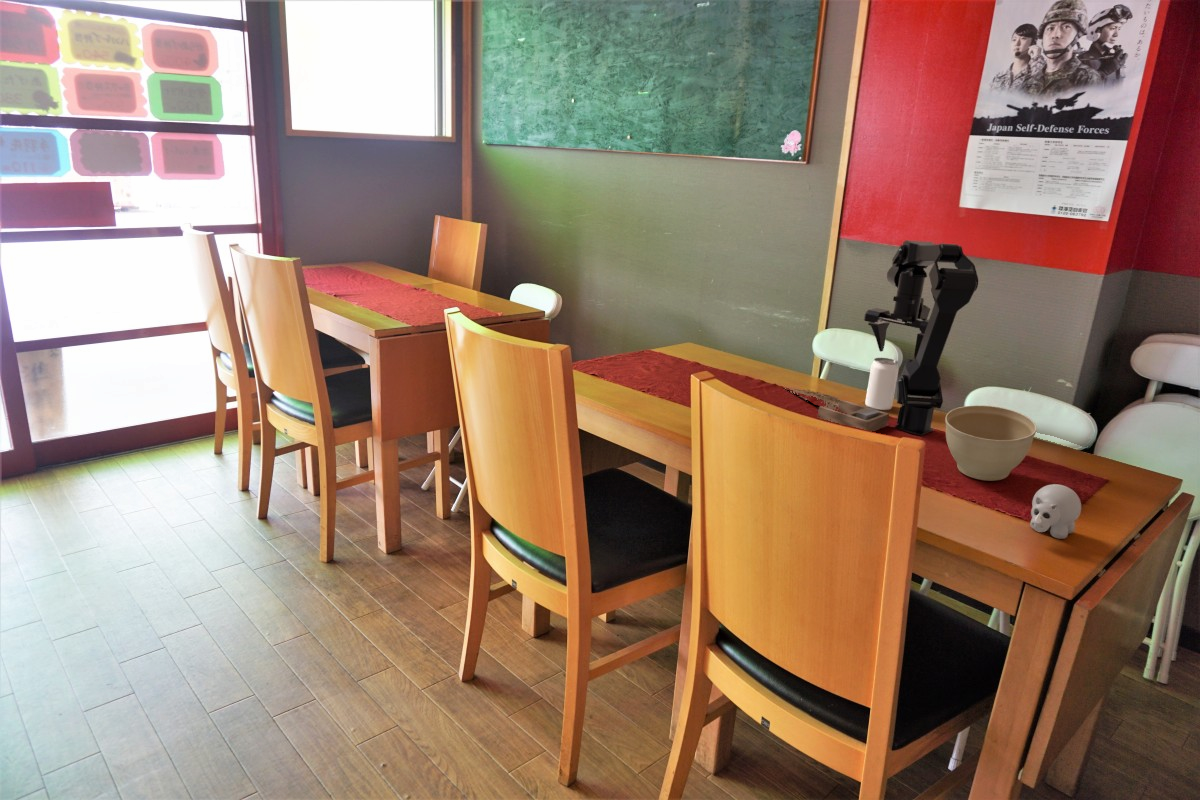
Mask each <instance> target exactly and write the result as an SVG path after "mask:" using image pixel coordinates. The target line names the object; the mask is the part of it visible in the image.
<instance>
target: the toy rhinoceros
mask: <svg viewBox="0 0 1200 800" xmlns="http://www.w3.org/2000/svg"><path fill="white" fill-rule="evenodd" d="M1031 504H1032V507H1031V510H1030V515H1031V517H1032V518H1031V520H1030V523H1029V526H1030V527H1031V528H1032V529H1033V530H1034V531H1035V532H1038V533H1045V532H1046V531H1049V533H1050V535H1051V536H1052V537H1053V538H1055V539H1058V540H1059V539H1060V540H1061V539H1066V538H1068V535H1069V534H1073V533H1074V532H1075V530H1076V529H1075V528H1076V523H1075V522H1076V520H1077V519H1078V518H1079V517H1080V515H1081V512H1082V503H1081V499H1080V497H1079V495H1078V494H1077V493H1076V492H1075V491H1074V489H1072V488H1070V487H1069V486H1065V485H1063V484H1056V483H1053V484H1047V485H1045V486H1042V487H1041V488H1040V489H1038V490H1037V491H1036V492H1035V494H1034V496H1033V497H1032V501H1031ZM1049 529H1050V530H1049Z"/></svg>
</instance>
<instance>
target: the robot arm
mask: <svg viewBox="0 0 1200 800" xmlns="http://www.w3.org/2000/svg"><path fill="white" fill-rule="evenodd" d="M891 260H892V263H891V265H892V266H891V267H890V268H889V269H888V271H887V272H886V279H887V281H888V283H889V284H890V285H892V286H893V287H896V288H897V290H896V291H897V292H896V296H893V299H892V301H893V302H894V307H893V312H890V310H888V309H883V308H878V307H876V308H871V309H867V310H866V312H865V313H864V317H863V321H864V322H868V323H867V325H868V326H870V327H871V330H872V332H873V334H874V336H875V340H876V344H877V347H878V350H879V352H884V348H885V344H886V336H887V330H888V328H889V326H890V323H892V324H896V325H900V326H906V327H911V328H915V329H919V331H920V333H917V334H916V341H915V345H914V346H915V347H914V348H915V349H914V355H913V356H914V357H913V359H907V360H906V361H905V363H904V367H903V368H902V369H903V370H902V371H901V375H900V376H899V377H898V379H897V382H896V387H897V389H896V390H897V391H896V404H899V405H901V406H900V407H899V409H898V415H897V419H896V425H894V428H895V429H896V430H897V429H898V430H900V431H904V432H907V433H908V434H909V433H910V434H913V433H915V434H914V435H916V434H917V435H916V436H924V435H926V434H928V433H930V432H933V431H934V428H933V427H931V426H932V421H933V416H934V411H935V409H941V408H942V405H943V402H944V400H943V392H942V386H941V381H942V380H941V379H942V378H941V375H940V372H939V369H938V365H939V363H940V359H941V357H942V355H943V352H944V349H945V347H946V346H945V345H946V343H947V341H948V338H949V335H950V333H951V330H952V327H953V324H954V321H955V319H956V317H957V313H958V312H959V311H960V310H961V309H963V308H964V307H965V306H966V305H968V304H969V303H970V301H971V299H972V298H973V295H974V293H975V292H976V291H977V289H978V286H979V276H978V274H977V270H976V265H975V263H974V262H972V261H971V260H970V258H968V257H967V255H965V254H964V250H963V247H962V246H961V245H959V244H956V243H939V244H938V243H937V244H936V243H934V242H932V241H926V240H925V241H922V240H920V241H919V240H908V239H907V240H904V241H903V242H902V244H901V245H900V246H899V248H898V249H897V251H896V252H895V254H894V256H893V257H892V259H891ZM938 263H945V264H947V263H948V264H953V265H954V267H955V268H952V267H951V268H948V267H941V268H940V267H939V264H938ZM929 266H932V267H931V268H930V271H929V272H928V273H927V272H926V270H925V269H927V268H928V267H929ZM927 277H929V280H930V286H931V287H930V291H931V295H932V298H933V302H934V304H933V307H932V310H931V308H930V307H928V305H925V304H924V301H925V300H924V299H925V298H924V297H922V296H923V291H924V285H925V280H926V278H927ZM930 311H931V313H930ZM929 315H930V316H929ZM928 317H929V319H928Z"/></svg>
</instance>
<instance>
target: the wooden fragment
mask: <svg viewBox="0 0 1200 800" xmlns="http://www.w3.org/2000/svg"><path fill="white" fill-rule="evenodd" d="M784 388H785V389H786V388H787V387H784ZM788 388H789V389H790V390H793V393H794V394H795V392H796V393H797V395H798V393H800V394H804V395H806V396H810V397H811V396H813V397H816V398H817V400H818V399H819V400H820V399H821V400H823V401H824V404H825V403H826V406H824V407H825V408H829V409H832V410H833V409H834V410H836V407H839V401H840V400H841V399H839V398H838V397H836V396H833V395H830V394H824V393H821V392H819V391H813V390H810V389H806V390H804V389H796V388H790V387H788ZM785 389H784V390H785ZM789 393H791V394H793V393H792V391H790V392H789ZM794 394H793V395H794ZM798 397H800V398H801V399H803V400H805V401H806V400H807V398H804V397H802V396H798ZM823 401H822V402H823ZM822 402H821V403H822ZM828 403H829V404H828ZM827 406H828V407H827ZM834 406H835V407H834ZM822 407H823V406H822ZM837 410H838V409H837Z"/></svg>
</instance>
